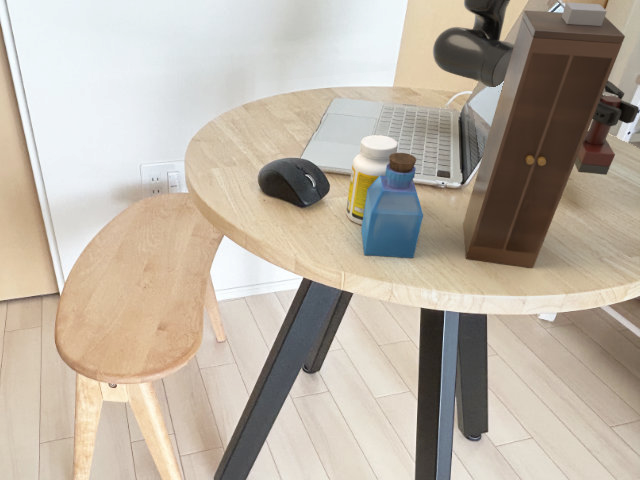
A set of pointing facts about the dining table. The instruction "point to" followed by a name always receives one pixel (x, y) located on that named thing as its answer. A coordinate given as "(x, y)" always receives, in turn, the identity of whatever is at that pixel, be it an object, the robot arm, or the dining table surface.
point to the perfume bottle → (393, 211)
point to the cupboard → (536, 134)
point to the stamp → (597, 145)
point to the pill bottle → (367, 172)
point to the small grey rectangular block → (584, 14)
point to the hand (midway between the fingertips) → (625, 117)
